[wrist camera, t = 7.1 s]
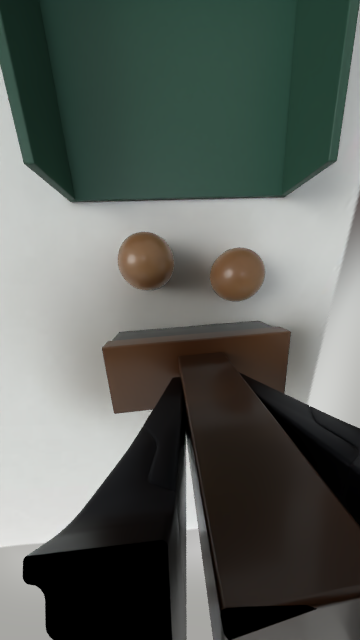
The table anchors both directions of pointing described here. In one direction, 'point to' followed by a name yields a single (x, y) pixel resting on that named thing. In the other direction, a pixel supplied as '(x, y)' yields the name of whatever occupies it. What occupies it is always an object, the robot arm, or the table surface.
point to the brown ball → (237, 274)
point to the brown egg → (145, 261)
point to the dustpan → (177, 94)
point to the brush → (248, 483)
